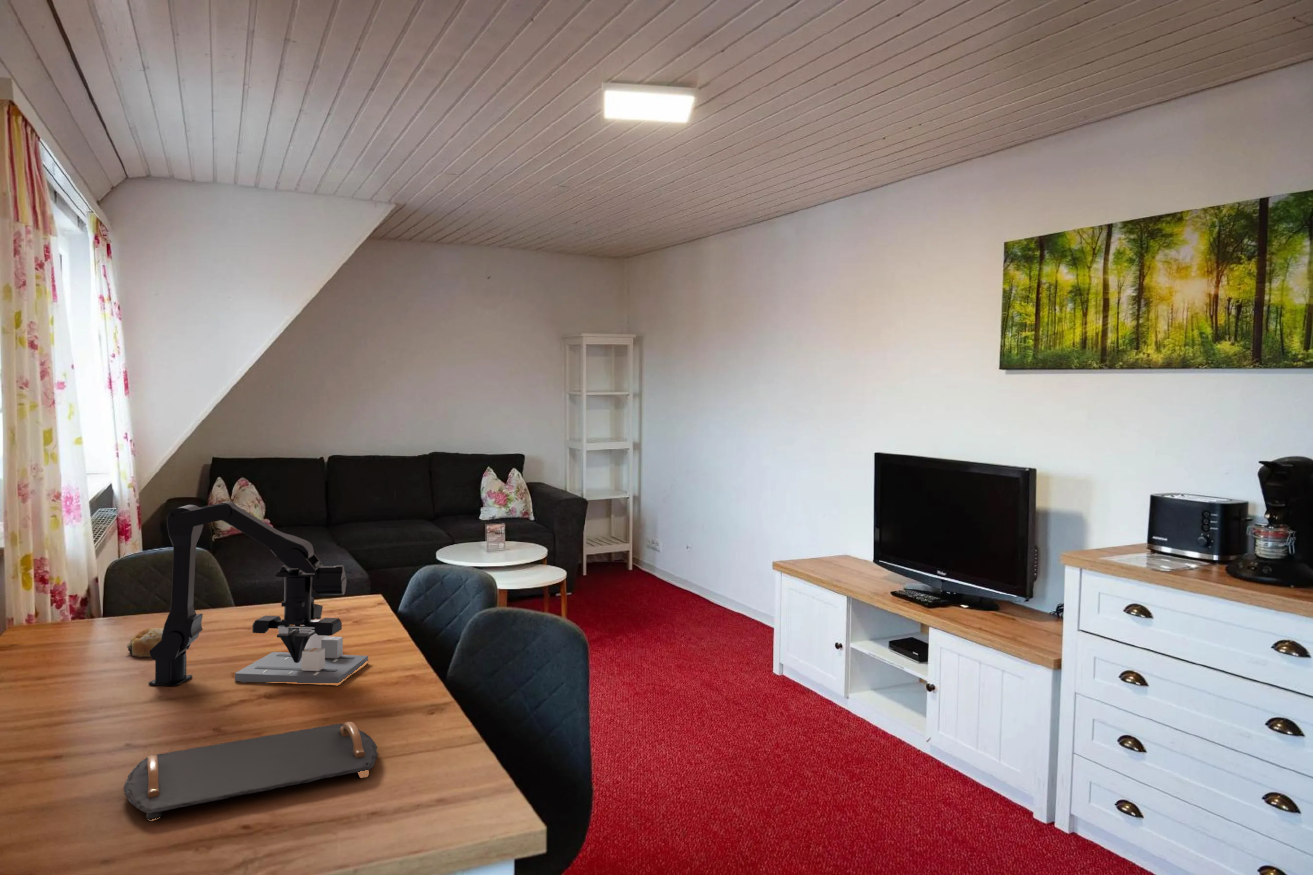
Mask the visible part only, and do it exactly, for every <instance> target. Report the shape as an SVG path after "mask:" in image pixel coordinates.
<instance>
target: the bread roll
mask: <svg viewBox="0 0 1313 875" xmlns="http://www.w3.org/2000/svg"><path fill="white" fill-rule="evenodd" d="M163 629H164V627H161V628H160V627H148V628H146V629H143V630H141V631H139V632H138V633H137V634H135V635H134V636H132V638H130V639H129V640H130V642H129V643H127V645H126V648H127V651H128V652H129V654H130V655H131V656H133V657H136V658H151V655H150V653H149V651H150V650H151V649H152V648H153V647H154V646H156V645H157V644H158V643H159V642H160V641H161V637H162V633H163Z"/></svg>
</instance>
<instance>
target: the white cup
mask: <svg viewBox="0 0 1313 875" xmlns="http://www.w3.org/2000/svg"><path fill="white" fill-rule="evenodd" d="M320 620H321V619H314V620H311V622H318V621H320ZM301 626H304V625H301ZM325 637H327V636H321V635H317V634H314V635H312V636H311V637H310V638H309V640H308V642H307V644H306V646H305V649H307V648H321V640H322V639H323V638H325Z"/></svg>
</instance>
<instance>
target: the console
mask: <svg viewBox="0 0 1313 875" xmlns="http://www.w3.org/2000/svg"><path fill="white" fill-rule="evenodd" d="M366 661H368V662H369V655H362V654H361V655H358V654H356V655H355V654H343V655H342V656H340V657H339V658H325V667H324V668H323V669H321V670H320V671H303V670H302V657H301V660H300V662H298V663H295V662H294V661H293V659H292V657H291V655H290V653H289V651H288V652H287V651H285V652H284V651H283V652H282V651H281V652H280V651H271V652H270V653H269V654H267V655H265V656H263V657H261V658H260V659H258V660H256V661H253V662H252V663H251V664H249V665H247V666H245V667H243V668H242V669H240V670H238V671H237V672H235V673H234V682H235V681H242V682H241V683H246V682H297V683H339V682H341V681H342V680H343V679H345V678H346V677H347V676H348V675H350V674H352V673H353V672H354V671H355V670H357V669H358V668H359V667H360V666H362V665H363V664H364V663H365V662H366Z"/></svg>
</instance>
